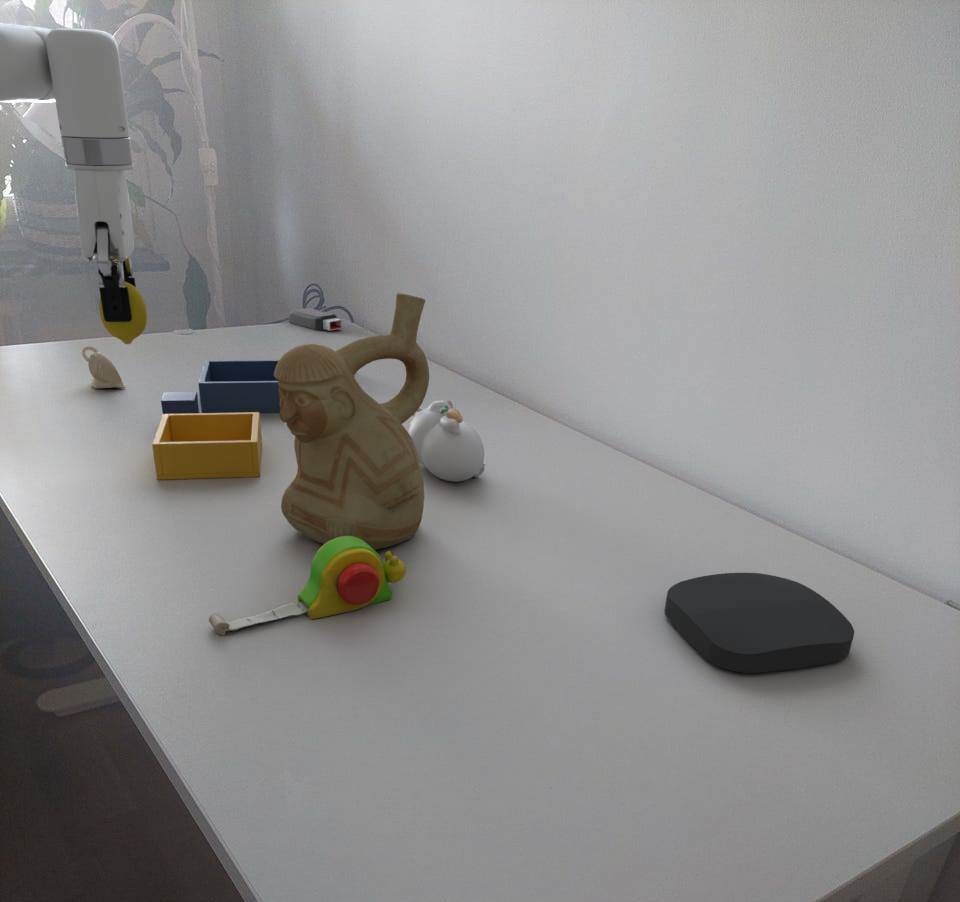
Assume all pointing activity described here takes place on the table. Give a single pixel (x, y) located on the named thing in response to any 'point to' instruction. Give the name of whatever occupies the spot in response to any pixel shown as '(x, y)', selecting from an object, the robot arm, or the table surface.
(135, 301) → the lemon
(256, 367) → the blue bin
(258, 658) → the table surface
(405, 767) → the table surface
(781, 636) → the media streaming box
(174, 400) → the navy block
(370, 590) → the toy measuring tape
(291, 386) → the ceramic vessel
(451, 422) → the cat figurine
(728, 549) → the table surface
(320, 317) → the usb drive
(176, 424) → the yellow bin
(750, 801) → the table surface
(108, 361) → the decorative ornament
